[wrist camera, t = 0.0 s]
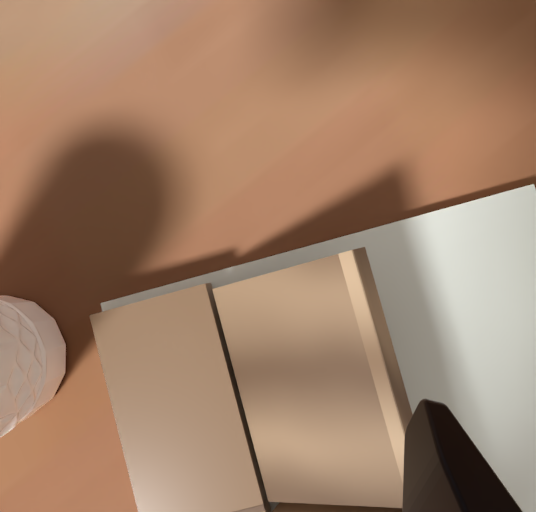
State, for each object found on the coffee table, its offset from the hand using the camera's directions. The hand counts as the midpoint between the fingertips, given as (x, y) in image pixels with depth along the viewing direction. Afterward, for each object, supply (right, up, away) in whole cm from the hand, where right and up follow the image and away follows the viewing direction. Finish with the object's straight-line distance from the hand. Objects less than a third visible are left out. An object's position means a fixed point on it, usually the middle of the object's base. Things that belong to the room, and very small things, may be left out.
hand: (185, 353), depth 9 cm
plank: (+4, -4, +12) cm, 13 cm away
